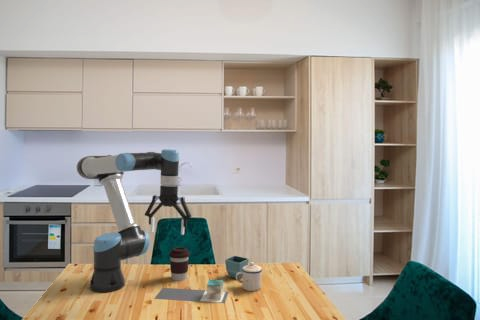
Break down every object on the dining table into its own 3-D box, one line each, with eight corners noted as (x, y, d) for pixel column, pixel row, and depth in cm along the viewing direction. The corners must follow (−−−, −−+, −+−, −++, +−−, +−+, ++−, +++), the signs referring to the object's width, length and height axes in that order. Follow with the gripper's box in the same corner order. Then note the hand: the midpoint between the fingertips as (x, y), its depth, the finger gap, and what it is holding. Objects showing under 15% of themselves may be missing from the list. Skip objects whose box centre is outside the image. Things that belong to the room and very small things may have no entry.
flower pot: (249, 276, 193) (249, 258, 192) (239, 281, 185) (239, 263, 185) (234, 272, 197) (234, 255, 197) (224, 277, 190) (224, 259, 189)
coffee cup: (187, 283, 181) (188, 252, 180) (166, 283, 181) (167, 251, 181) (190, 276, 191) (191, 246, 190) (170, 275, 191) (171, 245, 191)
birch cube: (220, 285, 162) (220, 299, 162) (223, 280, 167) (222, 293, 168) (206, 284, 162) (206, 298, 162) (209, 279, 168) (209, 293, 168)
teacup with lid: (260, 283, 183) (260, 259, 182) (263, 291, 174) (263, 265, 173) (234, 284, 182) (235, 259, 181) (236, 291, 173) (236, 266, 172)
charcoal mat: (153, 300, 162) (153, 298, 162) (162, 289, 174) (162, 287, 174) (224, 304, 159) (224, 303, 159) (228, 293, 171) (228, 291, 170)
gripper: (138, 184, 165) (136, 233, 167) (195, 188, 163) (193, 237, 165) (144, 182, 173) (142, 228, 175) (199, 185, 171) (197, 232, 172)
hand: (167, 233), depth 170 cm, fingers open, 13 cm apart
